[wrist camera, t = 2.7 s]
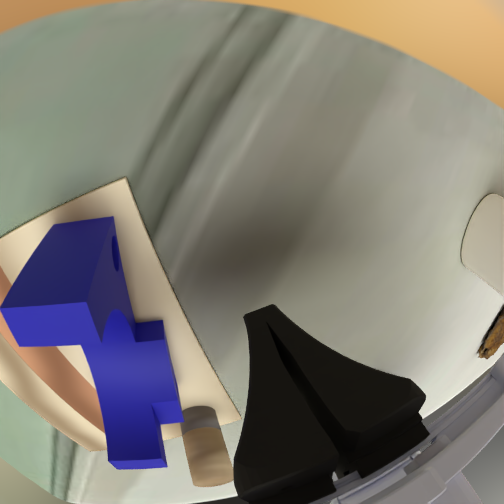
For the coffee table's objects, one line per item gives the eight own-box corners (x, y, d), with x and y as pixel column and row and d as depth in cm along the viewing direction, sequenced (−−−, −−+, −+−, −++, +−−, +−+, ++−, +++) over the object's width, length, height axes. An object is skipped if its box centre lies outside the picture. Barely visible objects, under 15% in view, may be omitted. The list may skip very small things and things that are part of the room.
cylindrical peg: (208, 401, 19) (229, 471, 14) (220, 417, 21) (240, 479, 16) (172, 411, 19) (186, 481, 14) (187, 426, 20) (202, 489, 15)
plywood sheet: (126, 176, 11) (125, 178, 11) (240, 416, 22) (241, 418, 22) (-69, 284, 9) (-71, 287, 8) (90, 449, 20) (90, 451, 20)
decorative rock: (489, 342, 45) (517, 285, 38) (500, 352, 42) (531, 294, 35) (467, 361, 41) (500, 298, 35) (480, 373, 38) (516, 310, 31)
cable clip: (177, 385, 17) (193, 464, 12) (114, 390, 16) (117, 469, 11) (147, 212, 12) (141, 296, 7) (53, 224, 11) (-1, 308, 5)
